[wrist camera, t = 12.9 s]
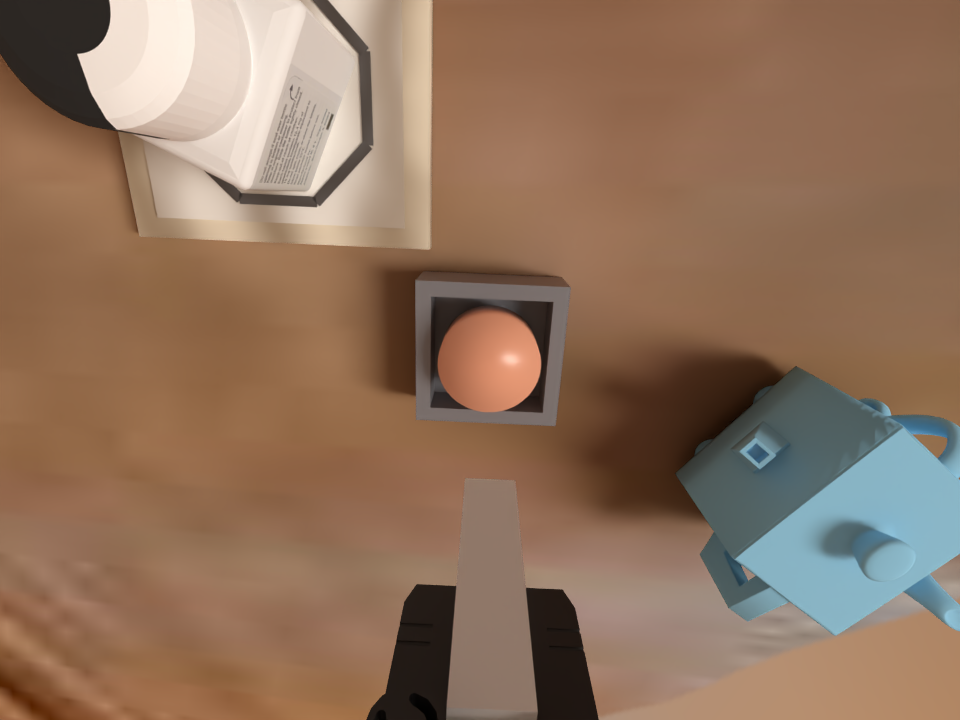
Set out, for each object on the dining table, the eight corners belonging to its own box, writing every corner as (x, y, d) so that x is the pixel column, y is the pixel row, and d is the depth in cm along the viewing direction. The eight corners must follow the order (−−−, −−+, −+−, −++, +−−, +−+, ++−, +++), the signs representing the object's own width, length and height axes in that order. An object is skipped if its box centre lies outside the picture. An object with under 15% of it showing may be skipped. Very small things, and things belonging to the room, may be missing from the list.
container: (182, 128, 26) (-91, 67, 14) (220, -20, 24) (-69, -255, 11) (310, 194, 27) (163, 192, 15) (359, 58, 25) (231, -78, 12)
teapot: (773, 298, 30) (930, 355, 19) (932, 451, 33) (1138, 569, 23) (603, 459, 34) (655, 578, 24) (760, 579, 38) (867, 729, 27)
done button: (540, 307, 28) (545, 317, 25) (532, 397, 30) (536, 414, 27) (442, 303, 28) (438, 313, 25) (441, 393, 30) (437, 410, 27)
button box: (561, 277, 30) (570, 287, 26) (548, 402, 33) (555, 426, 29) (423, 271, 30) (415, 280, 26) (423, 397, 33) (416, 419, 29)
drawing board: (432, -67, 24) (429, -81, 22) (431, 247, 29) (428, 250, 28) (88, -82, 24) (66, -97, 23) (150, 235, 29) (136, 236, 28)
